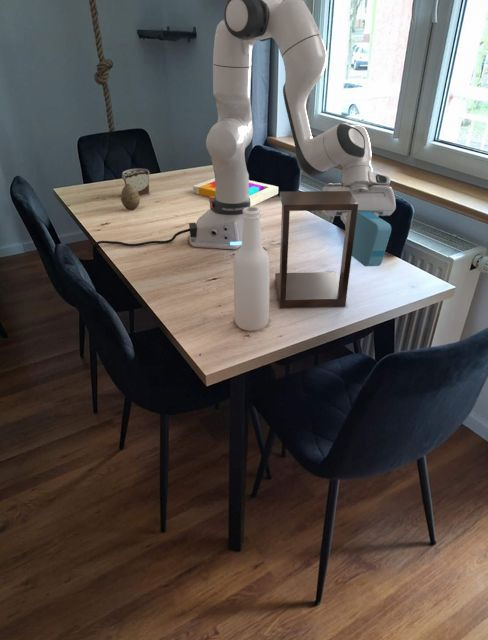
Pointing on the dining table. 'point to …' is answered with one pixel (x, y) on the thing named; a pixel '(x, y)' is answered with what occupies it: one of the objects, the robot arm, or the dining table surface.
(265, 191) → the puzzle game
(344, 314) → the dining table surface
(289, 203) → the shelf
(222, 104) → the robot arm
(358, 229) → the data package
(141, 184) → the food container
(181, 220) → the dining table surface
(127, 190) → the decorative egg
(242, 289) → the alcohol
